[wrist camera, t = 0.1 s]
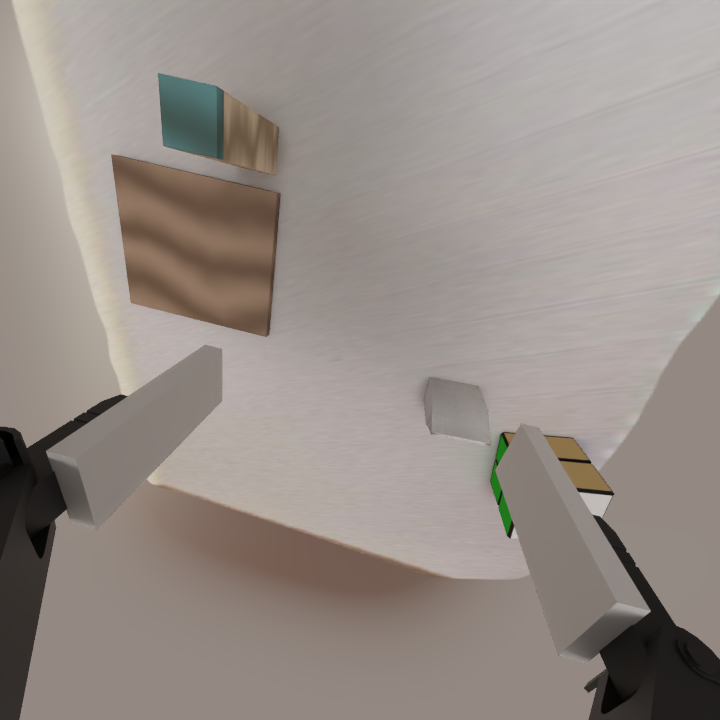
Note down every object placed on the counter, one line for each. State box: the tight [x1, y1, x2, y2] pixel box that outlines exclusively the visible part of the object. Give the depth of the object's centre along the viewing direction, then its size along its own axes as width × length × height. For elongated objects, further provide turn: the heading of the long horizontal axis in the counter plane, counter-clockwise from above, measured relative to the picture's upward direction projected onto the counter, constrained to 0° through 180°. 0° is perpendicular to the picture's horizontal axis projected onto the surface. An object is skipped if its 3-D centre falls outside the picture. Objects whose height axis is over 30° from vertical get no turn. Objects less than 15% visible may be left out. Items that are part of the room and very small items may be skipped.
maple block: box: [158, 73, 279, 175], centre depth 29 cm, size 4×4×12 cm
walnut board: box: [111, 155, 280, 337], centre depth 40 cm, size 18×20×1 cm
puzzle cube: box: [490, 433, 614, 540], centre depth 42 cm, size 10×10×10 cm
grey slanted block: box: [424, 377, 492, 446], centre depth 39 cm, size 4×7×10 cm, turn 82°
